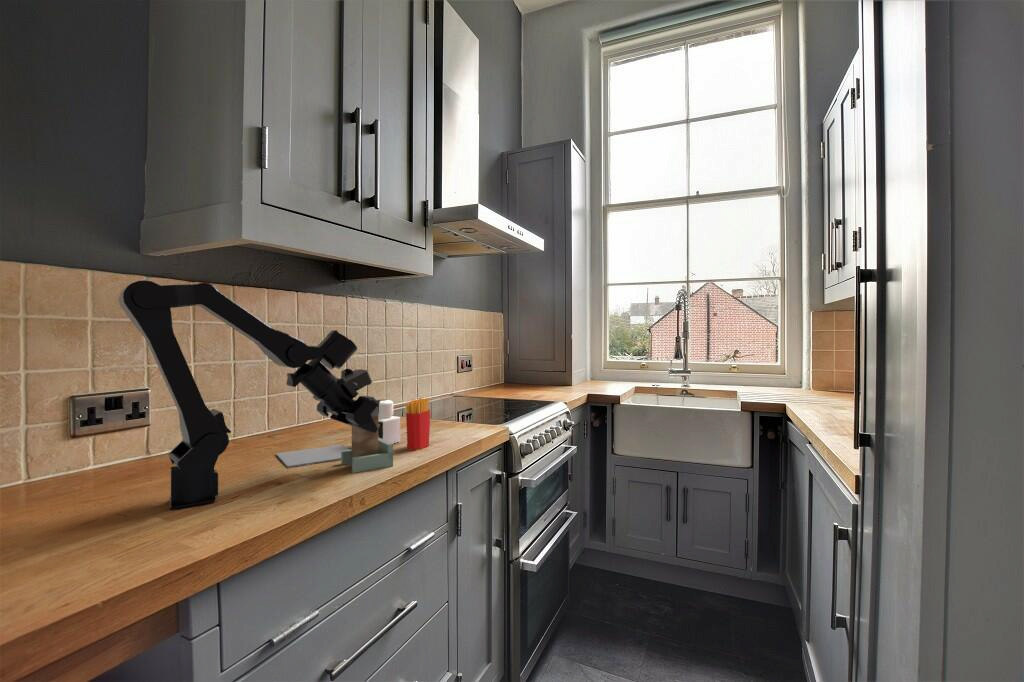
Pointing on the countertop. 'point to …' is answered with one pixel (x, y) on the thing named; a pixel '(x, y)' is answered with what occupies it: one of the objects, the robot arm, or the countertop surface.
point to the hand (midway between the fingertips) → (370, 429)
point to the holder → (370, 458)
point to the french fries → (418, 423)
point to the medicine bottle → (388, 422)
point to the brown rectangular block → (365, 439)
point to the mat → (311, 455)
